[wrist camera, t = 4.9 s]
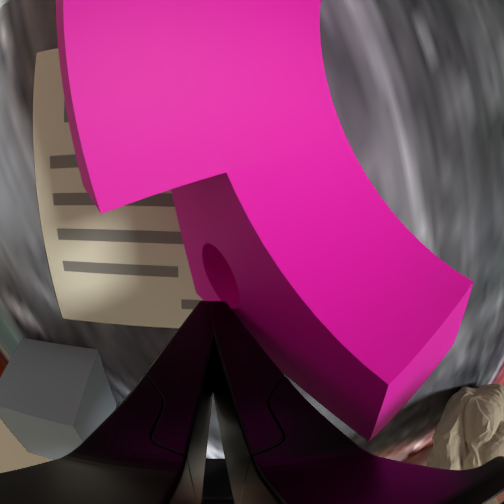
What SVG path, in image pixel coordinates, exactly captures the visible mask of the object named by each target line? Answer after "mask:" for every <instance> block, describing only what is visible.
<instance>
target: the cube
mask: <svg viewBox="0 0 504 504" xmlns="http://www.w3.org/2000/svg"><path fill="white" fill-rule="evenodd" d="M115 409H116V402H115V399H114V396H113V394H112V391H111V388H110V385H109V382H108V379H107V376H106V373H105V370H104V367H103V364H102V361H101V357H100V354H99V351H98V349H92V348H84V347H77V346H70V345H63V344H57V343H50V342H44V341H39V340H33V339H28V338H22V340H21V341H20V343H19V345H18V347H17V348H16V350H15V352H14V354H13V355H12V357H11V359H10V361H9V363H8V364H7V366H6V368H5V370H4V372H3V374H2V376H1V378H0V418H1V420H2V421H3V422H4V424H5V425H6V426H7V427H8V429H9V430H10V431H11V432H12V434H13V435H14V436H15V437H16V438H17V440H18V441H19V442H20V443H21V444H22V445H23V447H24V448H25V449H26V450H27V451H28V452H30V453H33V454H36V455H39V456H42V457H46V458H49V459H53V460H56V459H59V458H61V457H63V456H65V455H67V454H69V453H70V452H72V451H73V450H74V449H76V448H77V447H78V446H79V445H80V444H81V443H82V442H83V441H84V440H85V439H86V438H87V437H88V436H89V435H90V434H91V433H92V432H93V431H94V430H95V429H96V428H97V427H98V426H99V425H100V424H101V423H102V422H103V421H104V420H105V419H106V418H107V417H108V416H109V415H110V414H111V413H112V412H113V411H114V410H115Z"/></svg>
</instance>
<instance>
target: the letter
mask: <svg viewBox="0 0 504 504" xmlns="http://www.w3.org/2000/svg"><path fill="white" fill-rule="evenodd" d="M33 147H34V165H35V177H36V188H37V197H38V205H39V212H40V219H41V226H42V232H43V238H44V243H45V248H46V253H47V258H48V263H49V268H50V272H51V276H52V280H53V285H54V289H55V292H56V296H57V300H58V304H59V307H60V311H61V314H62V317H63V319H71V320H80V321H89V322H99V323H109V324H121V325H133V326H147V327H163V328H180V326H181V325H182V324H183V322H184V321H185V320H186V318H187V317H188V316H189V314H190V313H191V312H192V311H193V309H194V308H195V307H196V305H197V304H198V303H199V302H200V301H204V300H203V299H202V298H201V297H200V296H199V295H198V294H197V293H196V290H195V287H194V283H193V279H192V275H191V271H190V267H189V263H188V259H187V255H186V251H185V247H184V243H183V239H182V235H181V231H180V226H179V222H178V218H177V213H176V209H175V205H174V200H173V195H172V191H171V190H168V191H165V192H162V193H159V194H156V195H153V196H150V197H147V198H144V199H141V200H138V201H135V202H133V203H130V204H127V205H124V206H121V207H119V208H116V209H113V210H111V211H108V212H105V213H103V214H101V213H100V212H99V210H98V208H97V207H96V205H95V204H94V202H93V201H92V199H91V198H90V196H89V195H88V193H87V191H86V190H85V188H84V186H83V183H82V179H81V175H80V171H79V167H78V163H77V159H76V154H75V150H74V146H73V141H72V136H71V131H70V126H69V121H68V116H67V110H66V104H65V98H64V92H63V85H62V78H61V70H60V61H59V51H58V48H55V49H50V50H46V51H42V52H37V54H36V64H35V76H34V94H33Z"/></svg>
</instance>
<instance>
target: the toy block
mask: <svg viewBox="0 0 504 504" xmlns="http://www.w3.org/2000/svg"><path fill="white" fill-rule="evenodd" d="M320 4H321V0H56V25H57V40H58V51H59V61H60V70H61V78H62V85H63V92H64V98H65V104H66V110H67V116H68V121H69V126H70V131H71V136H72V141H73V146H74V150H75V154H76V159H77V163H78V167H79V171H80V175H81V179H82V183H83V186H84V188H85V190H86V191H87V193H88V195H89V196H90V198H91V199H92V201H93V202H94V204H95V205H96V207H97V208H98V210H99V212H100V213H101V214H103V213H105V212H108V211H111V210H113V209H116V208H119V207H121V206H124V205H127V204H130V203H133V202H135V201H138V200H141V199H144V198H147V197H150V196H153V195H156V194H159V193H162V192H165V191H168V190H171V191H172V195H173V200H174V205H175V209H176V213H177V218H178V222H179V226H180V231H181V235H182V239H183V243H184V247H185V251H186V255H187V259H188V263H189V267H190V271H191V275H192V279H193V283H194V287H195V290H196V293H197V294H198V295H199V296H200V297H201V298H202V299H203V300H204V301H225V302H227V303H228V305H229V306H230V307H231V309H232V310H233V311H234V313H235V314H236V315H237V316H238V318H239V319H240V320H241V322H242V323H243V324H244V325H245V327H246V328H247V329H248V330H249V332H250V333H251V334H252V336H253V337H254V338H255V339H256V341H257V342H258V343H259V344H260V346H261V347H262V348H263V349H264V351H265V352H266V353H267V354H268V356H269V357H270V358H271V359H272V360H273V362H274V363H275V364H276V365H277V367H278V368H279V369H280V370H281V371H282V372H283V373H284V374H285V375H287V376H288V377H289V378H290V379H291V380H292V381H294V382H295V383H296V384H297V385H298V386H300V387H301V388H302V389H303V390H304V391H306V392H307V393H308V394H309V395H310V396H312V397H313V398H314V399H315V400H317V401H318V402H319V403H320V404H321V405H323V406H324V407H325V408H326V409H328V410H329V411H330V412H331V413H333V414H334V415H335V416H336V417H338V418H339V419H340V420H341V421H343V422H344V423H345V424H347V425H348V426H349V427H350V428H352V429H353V430H354V431H356V432H357V433H358V434H360V435H361V436H362V437H363V438H365V439H366V440H367V441H370V440H371V439H372V438H374V437H375V436H376V435H377V434H378V433H379V432H380V431H381V430H382V429H383V428H384V427H385V426H386V424H387V423H388V422H389V421H390V420H391V419H392V418H393V417H394V416H395V415H396V414H397V413H398V412H399V411H400V410H401V409H402V407H403V406H404V405H405V404H406V403H407V402H408V401H409V400H410V398H411V397H412V396H413V395H414V394H415V393H416V391H417V390H418V389H419V388H420V387H421V386H422V384H423V383H424V382H425V381H426V379H427V378H428V377H429V376H430V374H431V373H432V372H433V371H434V369H435V368H436V367H437V366H438V364H439V363H440V362H441V360H442V359H443V358H444V356H445V355H446V354H447V352H448V351H449V349H450V348H451V347H452V345H453V344H454V341H455V338H456V335H457V333H458V330H459V327H460V324H461V321H462V318H463V315H464V312H465V309H466V306H467V302H468V299H469V296H470V292H471V288H472V285H473V281H471V280H469V279H468V278H466V277H465V276H463V275H462V274H460V273H458V272H457V271H455V270H454V269H452V268H451V267H450V266H448V265H447V264H446V263H444V262H443V261H442V260H440V259H439V258H438V257H437V256H435V255H434V254H433V253H432V252H431V251H430V250H429V249H427V248H426V247H425V246H424V245H423V244H422V243H421V242H420V241H419V240H418V239H417V238H416V237H415V236H414V235H413V234H412V233H411V232H410V231H409V230H408V229H407V228H406V227H405V226H404V225H403V224H402V223H401V221H400V220H399V219H398V218H397V217H396V216H395V215H394V213H393V212H392V211H391V210H390V208H389V207H388V206H387V204H386V203H385V202H384V200H383V199H382V198H381V197H380V195H379V194H378V192H377V191H376V189H375V188H374V186H373V185H372V183H371V182H370V180H369V179H368V177H367V176H366V174H365V172H364V171H363V169H362V167H361V165H360V164H359V162H358V160H357V159H356V157H355V154H354V152H353V150H352V148H351V146H350V144H349V142H348V141H347V138H346V136H345V134H344V131H343V129H342V126H341V124H340V122H339V119H338V116H337V113H336V110H335V108H334V105H333V102H332V99H331V95H330V91H329V88H328V84H327V80H326V75H325V70H324V65H323V59H322V51H321V42H320Z"/></svg>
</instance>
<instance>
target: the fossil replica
mask: <svg viewBox="0 0 504 504" xmlns="http://www.w3.org/2000/svg"><path fill="white" fill-rule="evenodd" d="M432 438H433V442H434V445H433V446H434V448H433V449H432V451H431V453H430V454H429V456H428V461H427V466H428V467H434V468H441V469H448V470H467V469H472V468H476V467H479V466H481V465H483V464H485V463H486V462H488V461H490V460H492V459H493V458H495V457H497V456H504V385H501V384H489V385H482V386H480V387H479V388H478V389H477V388H473V387H472V388H470V387H467V386H464V387H462V388H461V389H460V390H459V391H458V392H457V393H455V394H453V395H452V396H451V398H450V399H449V400H448V402H447V404H446V406H445V409H444V411H443V415H442V417H441V419H440V421H439V423H438V424H437V427H436V430H435V433H434V435H433V437H432Z"/></svg>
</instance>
